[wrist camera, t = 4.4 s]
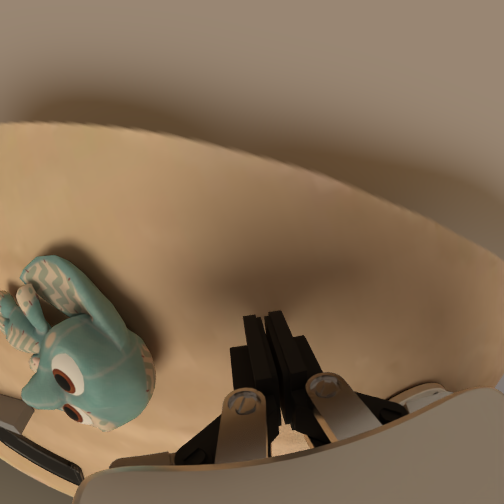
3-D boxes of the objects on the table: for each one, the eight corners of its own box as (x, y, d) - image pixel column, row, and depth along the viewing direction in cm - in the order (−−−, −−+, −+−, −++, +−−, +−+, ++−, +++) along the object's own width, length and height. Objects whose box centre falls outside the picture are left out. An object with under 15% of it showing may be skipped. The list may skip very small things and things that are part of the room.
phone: (85, 488, 20) (-1, 440, 17) (86, 482, 21) (2, 436, 18) (78, 470, 18) (-17, 412, 15) (81, 463, 19) (-13, 407, 16)
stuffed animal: (-60, 245, 6) (101, 367, 6) (24, 221, 13) (183, 278, 13) (-17, 395, 9) (127, 496, 8) (36, 350, 16) (163, 416, 15)
